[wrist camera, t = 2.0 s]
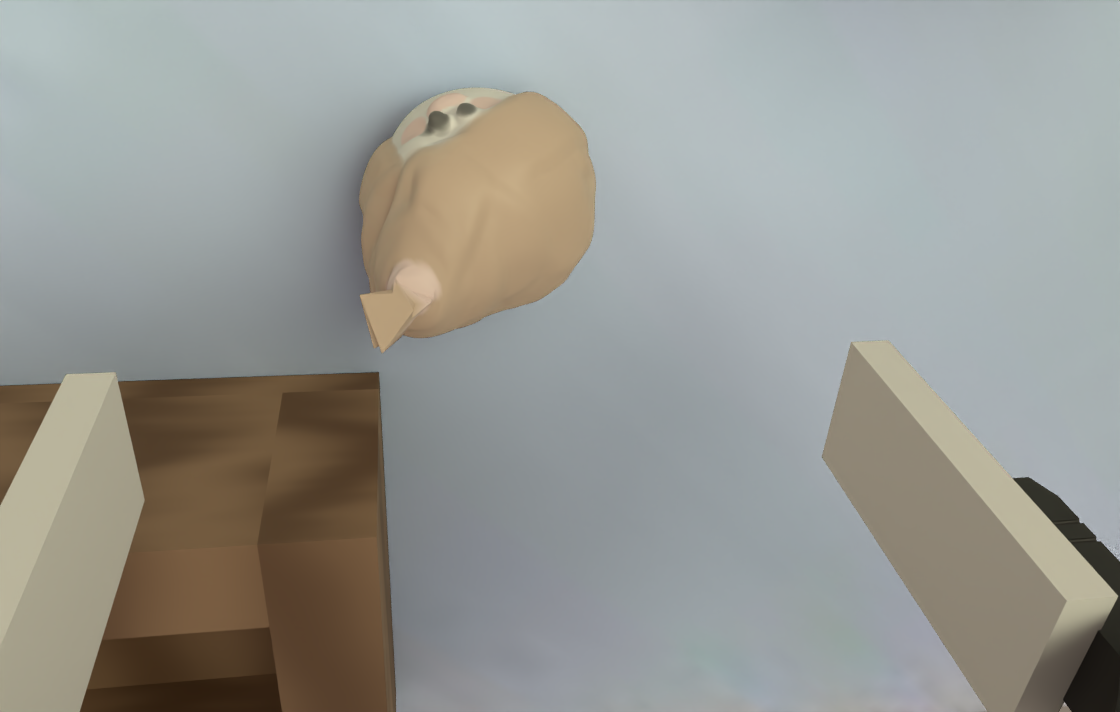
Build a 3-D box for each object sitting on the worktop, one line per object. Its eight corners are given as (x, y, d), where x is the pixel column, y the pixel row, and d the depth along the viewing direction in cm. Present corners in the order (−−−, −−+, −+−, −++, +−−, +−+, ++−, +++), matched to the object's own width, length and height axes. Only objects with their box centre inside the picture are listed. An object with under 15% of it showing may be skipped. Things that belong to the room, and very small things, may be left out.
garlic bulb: (364, 46, 26) (356, 143, 19) (591, 69, 27) (658, 167, 20) (358, 264, 29) (350, 411, 22) (560, 274, 30) (610, 417, 24)
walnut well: (378, 372, 31) (376, 537, 24) (395, 693, 40) (397, 881, 33) (-156, 391, 29) (-322, 581, 22) (-18, 730, 37) (-107, 943, 30)
